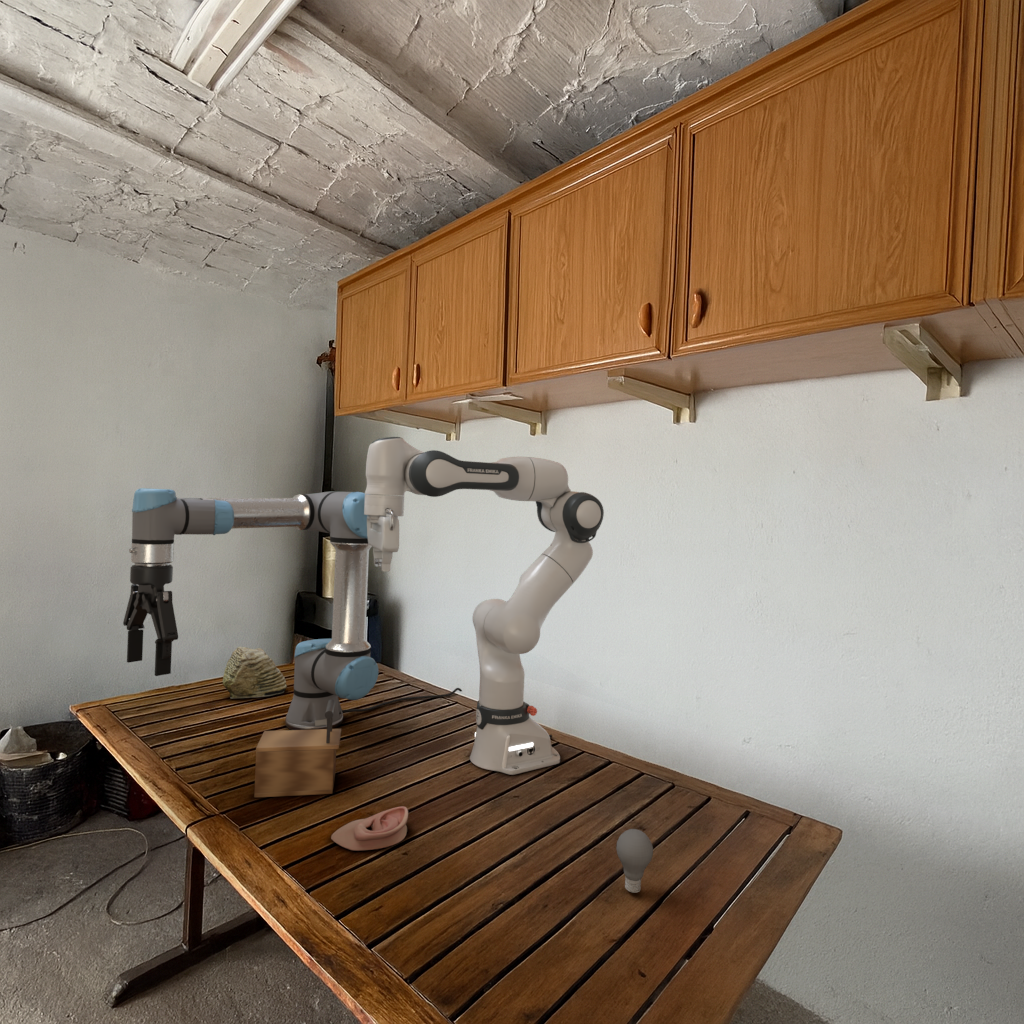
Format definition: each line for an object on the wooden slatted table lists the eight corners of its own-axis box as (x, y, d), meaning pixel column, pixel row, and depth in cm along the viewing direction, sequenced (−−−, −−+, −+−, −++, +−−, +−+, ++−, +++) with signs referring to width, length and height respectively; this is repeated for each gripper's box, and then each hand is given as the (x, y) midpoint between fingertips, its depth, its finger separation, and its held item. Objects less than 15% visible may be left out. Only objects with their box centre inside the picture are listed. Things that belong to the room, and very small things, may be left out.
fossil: (218, 695, 195) (220, 647, 195) (278, 685, 208) (279, 640, 207) (228, 703, 189) (230, 653, 188) (289, 692, 201) (290, 645, 201)
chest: (335, 774, 145) (337, 732, 145) (332, 793, 135) (334, 749, 135) (262, 777, 142) (264, 734, 141) (254, 797, 132) (255, 752, 132)
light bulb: (610, 879, 108) (613, 822, 108) (644, 879, 109) (647, 822, 109) (619, 902, 102) (622, 840, 102) (655, 901, 103) (658, 840, 103)
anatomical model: (323, 824, 115) (352, 795, 126) (322, 845, 115) (351, 815, 126) (392, 835, 112) (415, 805, 123) (391, 857, 112) (414, 825, 123)
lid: (341, 732, 145) (342, 697, 145) (338, 749, 135) (340, 712, 135) (264, 734, 141) (265, 699, 141) (255, 752, 132) (257, 714, 132)
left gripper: (108, 559, 134) (104, 659, 134) (159, 571, 118) (154, 684, 119) (146, 557, 140) (142, 653, 140) (199, 569, 124) (195, 676, 125)
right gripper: (407, 509, 135) (405, 574, 136) (389, 507, 154) (387, 563, 155) (378, 508, 133) (375, 574, 133) (363, 506, 152) (361, 563, 152)
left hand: (148, 667), depth 129 cm, fingers open, 13 cm apart
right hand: (381, 568), depth 144 cm, fingers open, 8 cm apart
